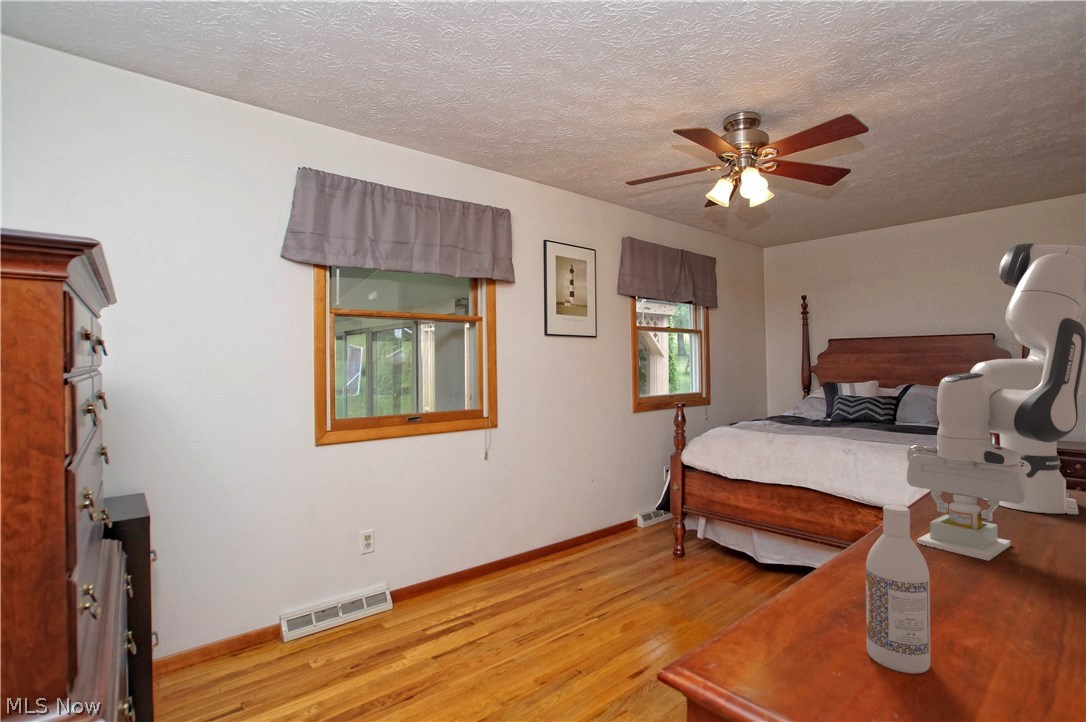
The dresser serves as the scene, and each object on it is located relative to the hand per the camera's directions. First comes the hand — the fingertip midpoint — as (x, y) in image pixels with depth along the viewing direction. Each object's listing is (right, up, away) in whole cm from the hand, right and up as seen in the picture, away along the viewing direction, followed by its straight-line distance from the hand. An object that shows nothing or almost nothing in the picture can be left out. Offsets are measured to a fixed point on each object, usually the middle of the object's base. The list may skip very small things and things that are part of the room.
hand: (964, 515), depth 111 cm
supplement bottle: (0, -5, 0) cm, 5 cm away
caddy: (0, -6, 0) cm, 6 cm away
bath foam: (-42, -7, -42) cm, 60 cm away
